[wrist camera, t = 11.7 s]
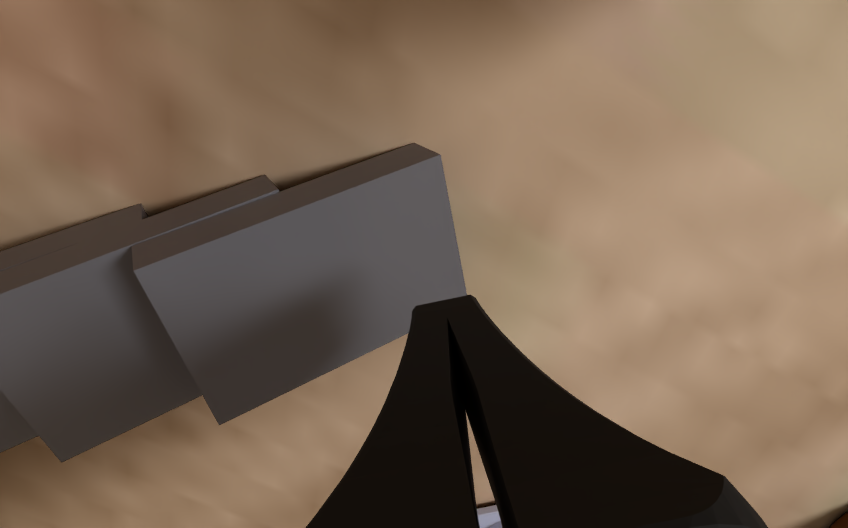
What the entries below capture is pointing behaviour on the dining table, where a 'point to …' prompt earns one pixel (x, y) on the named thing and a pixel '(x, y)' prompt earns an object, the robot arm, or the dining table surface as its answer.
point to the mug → (841, 522)
